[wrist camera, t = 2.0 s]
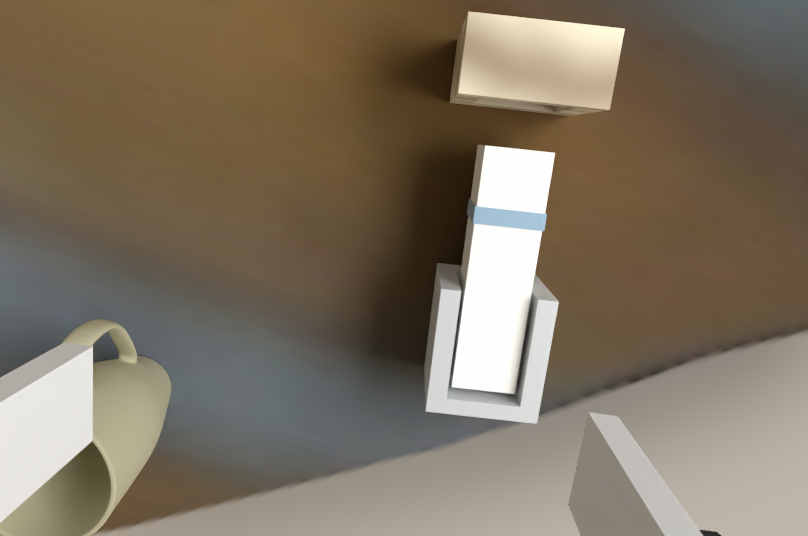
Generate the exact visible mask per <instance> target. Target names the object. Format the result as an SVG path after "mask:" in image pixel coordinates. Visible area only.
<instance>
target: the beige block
mask: <svg viewBox="0 0 808 536" xmlns="http://www.w3.org/2000/svg"><path fill="white" fill-rule="evenodd" d="M624 30H625V29H622V28H613V27H604V26H595V25H586V24H577V23H568V22H559V21H550V20H541V19H532V18H523V17H514V16H505V15H496V14H487V13H478V12H468V14H467V17H466V19H465V22H464V24H463V27H462V29H461V32H460V34H459V37H458V39H457V47H456V55H455V63H454V71H453V80H452V88H451V96H450V103H456V104H465V105H475V106H484V107H493V108H502V109H511V110H520V111H529V112H538V113H547V114H556V115H565V116H571V115H578V114H585V113H592V112H599V111H606V110H610V105H611V100H612V95H613V89H614V84H615V79H616V73H617V68H618V62H619V57H620V52H621V46H622V41H623V36H624Z"/></svg>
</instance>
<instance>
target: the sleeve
mask: <svg viewBox="0 0 808 536" xmlns="http://www.w3.org/2000/svg"><path fill="white" fill-rule="evenodd" d="M460 273H461V265H452V264H443V263H437V269H436V277H435V285H434V293H433V301H432V309H431V317H430V325H429V333H428V341H427V349H426V357H425V365H424V371H425V407H426V412H435V413H444V414H453V415H463V416H472V417H481V418H490V419H499V420H508V421H517V422H526V423H535V424H536V423H537V420H538V414H539V409H540V403H541V398H542V392H543V387H544V381H545V375H546V370H547V364H548V359H549V353H550V348H551V342H552V336H553V331H554V325H555V320H556V314H557V309H558V303H559V302H558V300H557V299H556V298H555V297H554V296H553V295H552V293H551V292H550V291H549V290H548V289H547V288H546V286H545V285H544V284H543V283H542V282H541V281H540V279H539V278H538V277H537V276H536V275H535V276H534V282H533V288H532V294H531V300H530V306H529V312H528V318H527V324H526V330H525V336H524V342H523V348H522V354H521V360H520V366H519V372H518V378H517V384H516V390H515V394H509V393H500V392H491V391H482V390H473V389H464V388H455V387H452V385H451V377H450V371H451V364H452V356H453V349H454V342H455V334H456V327H457V320H458V312H459V305H460V298H461V288H460V284H459V280H460Z"/></svg>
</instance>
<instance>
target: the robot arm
mask: <svg viewBox="0 0 808 536" xmlns="http://www.w3.org/2000/svg"><path fill="white" fill-rule="evenodd" d="M92 441H93V346H86V345H79V344H71V343H63V344H61V345H59V346H57V347H55V348H53V349H52V350H50V351H48V352H46V353H44V354H42V355H41V356H39V357H37V358H35V359H33V360H31V361H30V362H28V363H26V364H24V365H22V366H20V367H19V368H17V369H15V370H13V371H11V372H9V373H8V374H6V375H4V376H2V377H0V523H1V522H2V521H3V520H4V519H5V518H6V517H7V516H8V515H10V514H11V513H12V512H13V511H14V510H15V509H16V508H17V507H19V506H20V505H21V504H22V503H23V502H24V501H25V500H26V499H28V498H29V497H30V496H31V495H32V494H33V493H34V492H35V491H37V490H38V489H39V488H40V487H41V486H42V485H43V484H44V483H46V482H47V481H48V480H49V479H50V478H51V477H52V476H53V475H55V474H56V473H57V472H58V471H59V470H60V469H61V468H62V467H64V466H65V465H66V464H67V463H68V462H69V461H70V460H71V459H73V458H74V457H75V456H76V455H77V454H78V453H79V452H80V451H82V450H83V449H84V448H85V447H86V446H87V445H88V444H89V443H91V442H92ZM568 505H569V507H570V510H571V512H572V514H573V517H574V519H575V522H576V525H577V527H578V530H579V532H580V534H581V536H721V535H719V534H718V533H717V532H712V531H705V530H699V529H698V528H697V526H696V525H695V523H694V522H693V521H692V519H691V518H690V517H689V515H688V514H687V512H686V511H685V510H684V508H683V507H682V505H681V504H680V503H679V501H678V500H677V498H676V497H675V496H674V494H673V493H672V491H671V490H670V489H669V487H668V486H667V484H666V483H665V482H664V480H663V479H662V477H661V476H660V475H659V473H658V472H657V471H656V469H655V468H654V466H653V465H652V463H651V462H650V461H649V459H648V458H647V457H646V455H645V454H644V452H643V451H642V450H641V448H640V447H639V445H638V444H637V443H636V441H635V440H634V438H633V437H632V436H631V434H630V433H629V432H628V430H627V429H626V427H625V426H624V424H623V423H622V422H621V420H620V419H619V417H617V416H612V415H605V414H597V413H588V417H587V421H586V426H585V431H584V435H583V440H582V445H581V450H580V454H579V458H578V463H577V468H576V472H575V477H574V481H573V486H572V491H571V495H570V500H569V504H568Z"/></svg>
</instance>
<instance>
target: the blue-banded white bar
mask: <svg viewBox="0 0 808 536" xmlns="http://www.w3.org/2000/svg"><path fill="white" fill-rule="evenodd" d="M554 156H555V153H550V152H541V151H532V150H523V149H514V148H505V147H496V146H487V145H478V147H477V155H476V162H475V169H474V177H473V184H472V192H471V199H469V201H468V209H467V215H468V221H467V229H466V236H465V243H464V251H463V258H462V266H461V273H460V280H459V284H460V288H461V298H460V305H459V312H458V320H457V327H456V334H455V342H454V349H453V356H452V364H451V371H450V377H451V385H452V387H455V388H464V389H473V390H482V391H491V392H500V393H509V394H515V390H516V384H517V378H518V372H519V366H520V360H521V354H522V348H523V342H524V336H525V330H526V324H527V318H528V312H529V306H530V300H531V294H532V288H533V282H534V276H535V270H536V264H537V258H538V252H539V246H540V240H541V234H542V231H544V229H545V223H546V217H547V214H546V213H545V210H546V204H547V198H548V192H549V186H550V180H551V174H552V168H553V162H554Z"/></svg>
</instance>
